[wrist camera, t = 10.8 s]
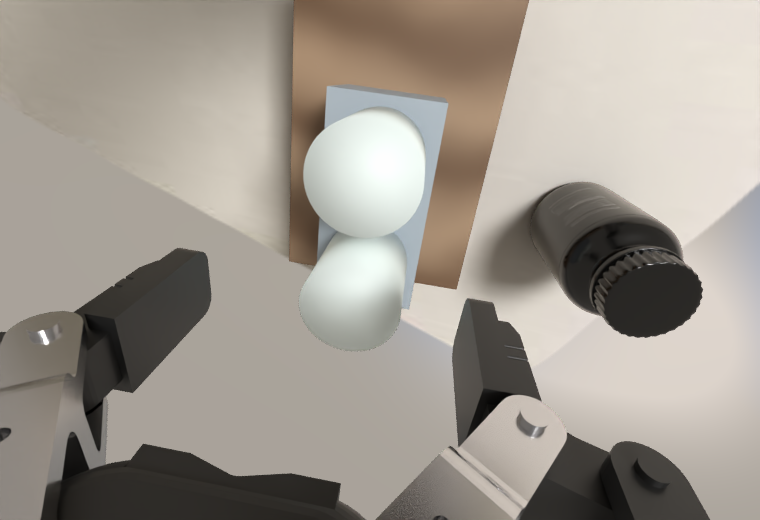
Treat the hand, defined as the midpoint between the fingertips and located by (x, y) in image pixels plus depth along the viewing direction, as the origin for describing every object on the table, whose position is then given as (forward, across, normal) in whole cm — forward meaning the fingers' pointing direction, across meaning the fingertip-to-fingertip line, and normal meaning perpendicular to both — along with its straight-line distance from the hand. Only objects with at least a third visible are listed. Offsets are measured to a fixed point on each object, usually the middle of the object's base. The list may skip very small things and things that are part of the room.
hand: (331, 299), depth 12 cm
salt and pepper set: (+14, 0, 0) cm, 14 cm away
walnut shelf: (+21, 0, -2) cm, 21 cm away
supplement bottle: (+21, -15, +3) cm, 26 cm away
